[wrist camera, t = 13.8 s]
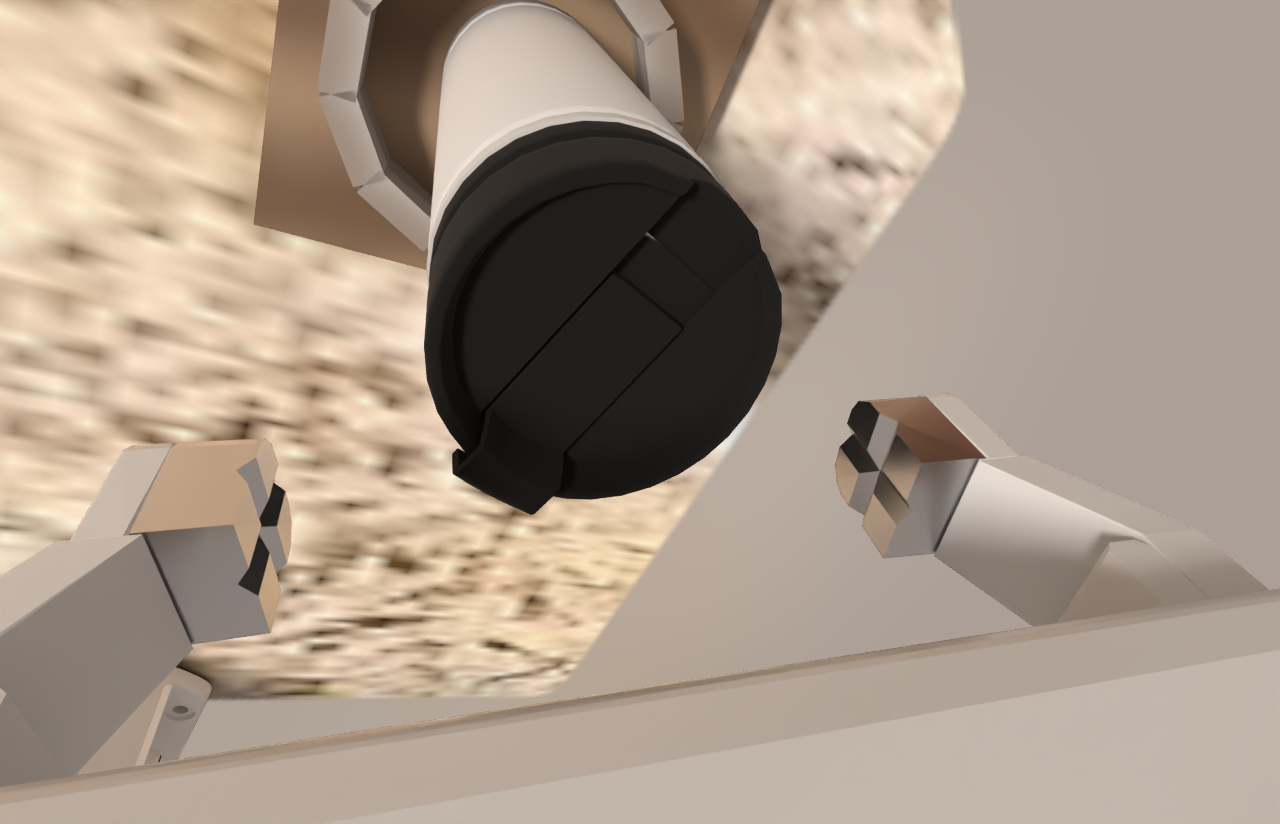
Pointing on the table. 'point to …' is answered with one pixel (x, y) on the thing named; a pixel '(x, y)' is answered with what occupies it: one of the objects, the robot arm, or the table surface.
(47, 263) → the table surface
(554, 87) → the travel mug
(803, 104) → the table surface
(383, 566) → the table surface
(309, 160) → the collar board
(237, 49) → the table surface
